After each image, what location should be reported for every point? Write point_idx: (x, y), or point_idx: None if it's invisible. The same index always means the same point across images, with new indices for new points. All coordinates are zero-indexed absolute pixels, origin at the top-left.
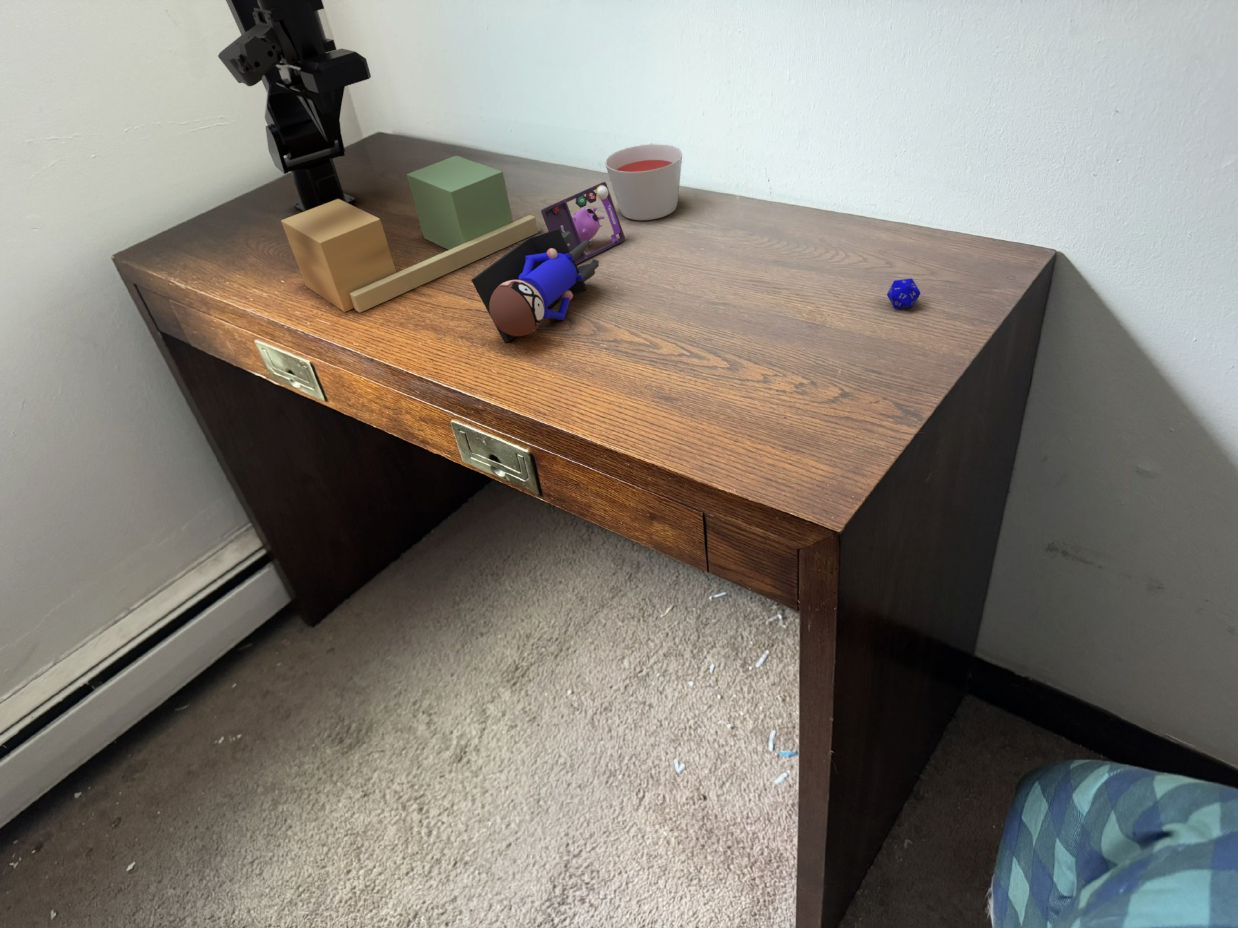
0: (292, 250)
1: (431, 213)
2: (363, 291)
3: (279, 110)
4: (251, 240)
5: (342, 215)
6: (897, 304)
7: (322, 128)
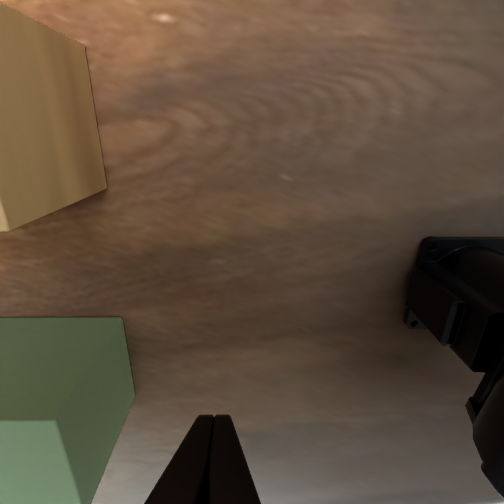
0: (21, 13)
1: (22, 359)
2: None
3: None
4: (478, 83)
5: None
6: None
7: (171, 477)
